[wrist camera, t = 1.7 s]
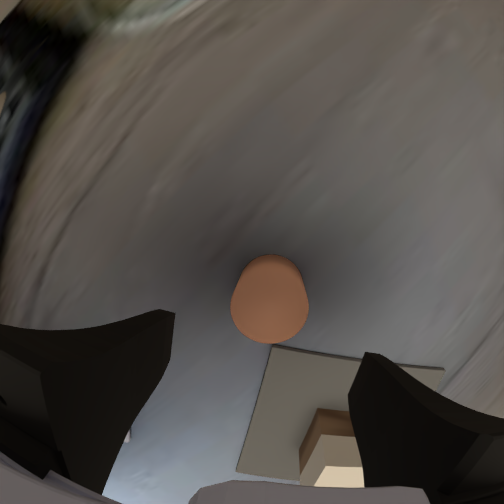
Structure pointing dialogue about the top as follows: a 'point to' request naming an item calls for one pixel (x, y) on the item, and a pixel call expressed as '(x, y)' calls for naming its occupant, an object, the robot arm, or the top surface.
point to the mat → (301, 405)
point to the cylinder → (269, 300)
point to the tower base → (324, 431)
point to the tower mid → (334, 464)
